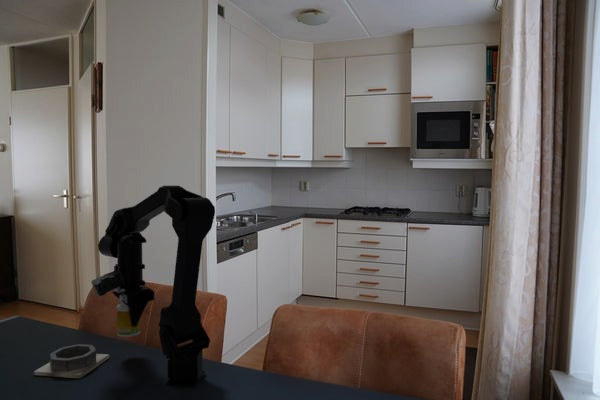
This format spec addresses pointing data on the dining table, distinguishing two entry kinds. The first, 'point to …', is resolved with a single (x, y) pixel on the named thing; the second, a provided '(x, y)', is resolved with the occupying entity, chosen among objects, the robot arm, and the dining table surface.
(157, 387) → the dining table surface
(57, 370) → the collar
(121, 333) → the supplement bottle
